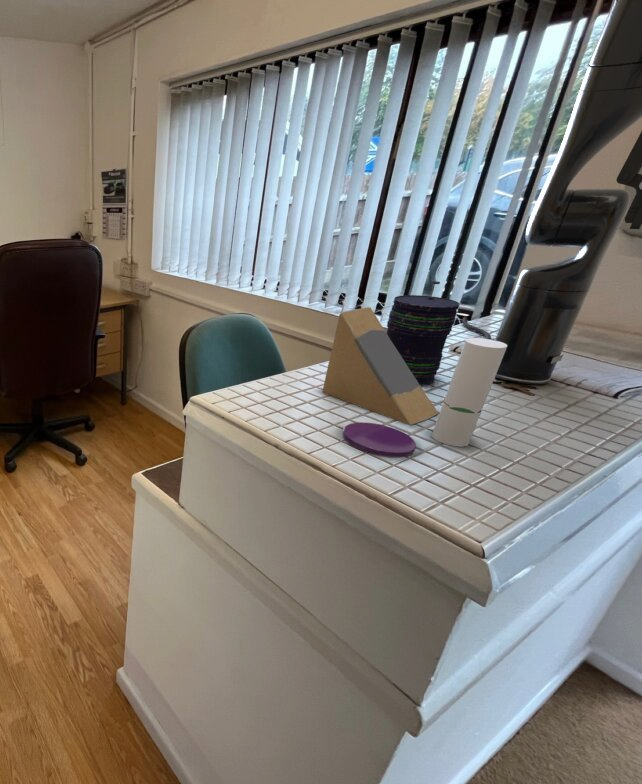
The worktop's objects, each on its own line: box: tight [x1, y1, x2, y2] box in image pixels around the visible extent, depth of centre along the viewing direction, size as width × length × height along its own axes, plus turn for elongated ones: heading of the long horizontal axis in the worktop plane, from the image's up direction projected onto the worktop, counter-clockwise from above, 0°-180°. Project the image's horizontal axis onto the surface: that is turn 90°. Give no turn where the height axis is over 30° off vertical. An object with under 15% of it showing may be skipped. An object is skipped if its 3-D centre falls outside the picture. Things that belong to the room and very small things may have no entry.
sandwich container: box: [322, 306, 440, 426], centre depth 77 cm, size 9×15×15 cm, turn 27°
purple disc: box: [342, 422, 417, 458], centre depth 68 cm, size 9×9×1 cm
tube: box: [431, 337, 507, 448], centre depth 65 cm, size 4×4×15 cm
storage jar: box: [386, 280, 460, 386], centre depth 87 cm, size 10×10×18 cm
